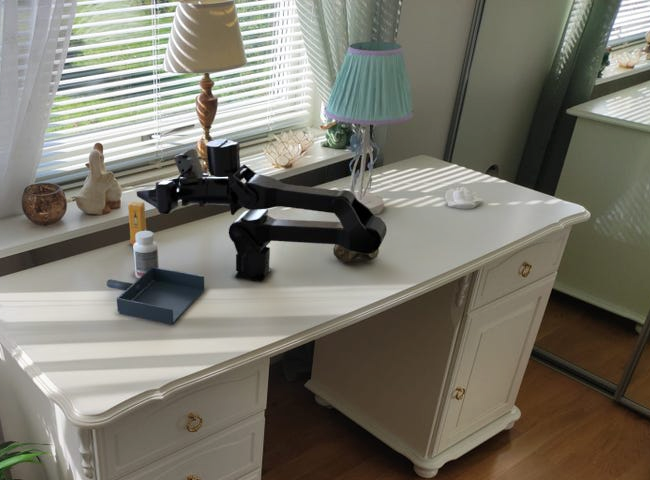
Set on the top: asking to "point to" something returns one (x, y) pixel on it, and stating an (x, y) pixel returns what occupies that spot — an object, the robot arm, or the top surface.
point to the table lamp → (370, 102)
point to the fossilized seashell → (351, 254)
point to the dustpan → (158, 294)
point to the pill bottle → (145, 252)
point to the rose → (462, 198)
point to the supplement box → (136, 219)
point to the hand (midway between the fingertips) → (146, 189)
